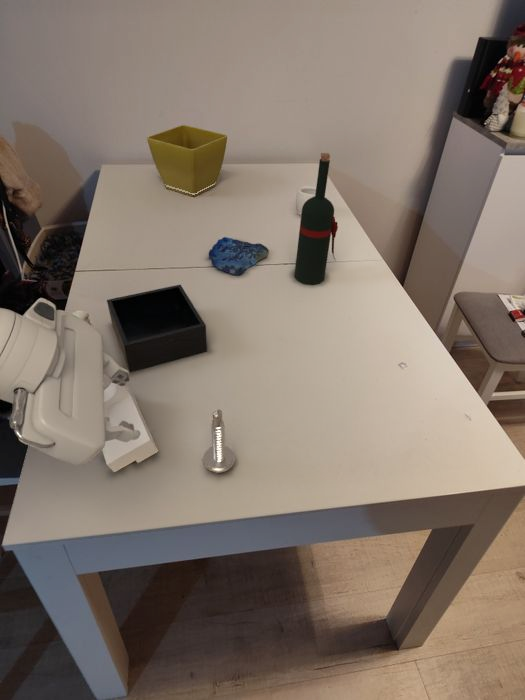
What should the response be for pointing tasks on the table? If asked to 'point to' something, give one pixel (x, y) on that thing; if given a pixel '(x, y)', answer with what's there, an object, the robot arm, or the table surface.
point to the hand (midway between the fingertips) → (128, 405)
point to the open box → (157, 327)
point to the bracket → (125, 408)
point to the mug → (304, 196)
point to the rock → (236, 255)
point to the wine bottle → (316, 231)
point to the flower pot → (188, 157)
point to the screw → (218, 448)
